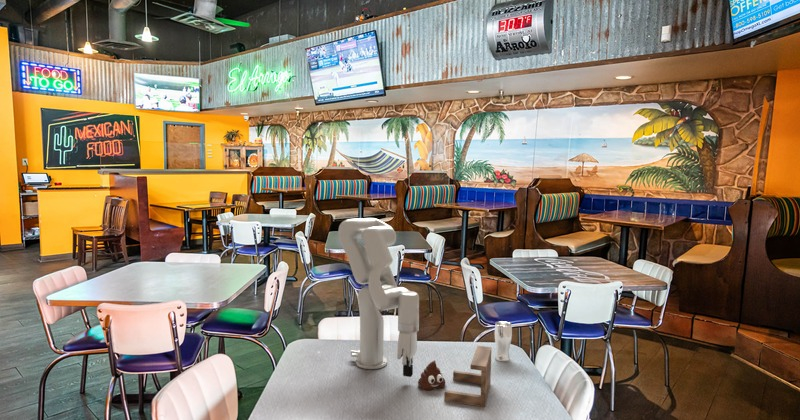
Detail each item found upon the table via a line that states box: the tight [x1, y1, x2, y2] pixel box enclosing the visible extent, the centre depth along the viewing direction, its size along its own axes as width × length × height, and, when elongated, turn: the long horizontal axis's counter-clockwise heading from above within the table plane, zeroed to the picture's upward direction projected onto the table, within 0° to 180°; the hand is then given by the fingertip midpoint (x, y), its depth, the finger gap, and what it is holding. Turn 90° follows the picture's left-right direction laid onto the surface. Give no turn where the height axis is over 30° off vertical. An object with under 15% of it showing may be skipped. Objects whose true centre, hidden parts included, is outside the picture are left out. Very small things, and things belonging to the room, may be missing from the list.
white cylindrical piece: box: [494, 320, 513, 363], centre depth 184 cm, size 7×7×15 cm
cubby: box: [443, 345, 492, 408], centre depth 155 cm, size 14×18×14 cm
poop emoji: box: [417, 360, 446, 391], centre depth 159 cm, size 10×8×9 cm
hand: (407, 375), depth 161 cm, fingers closed
